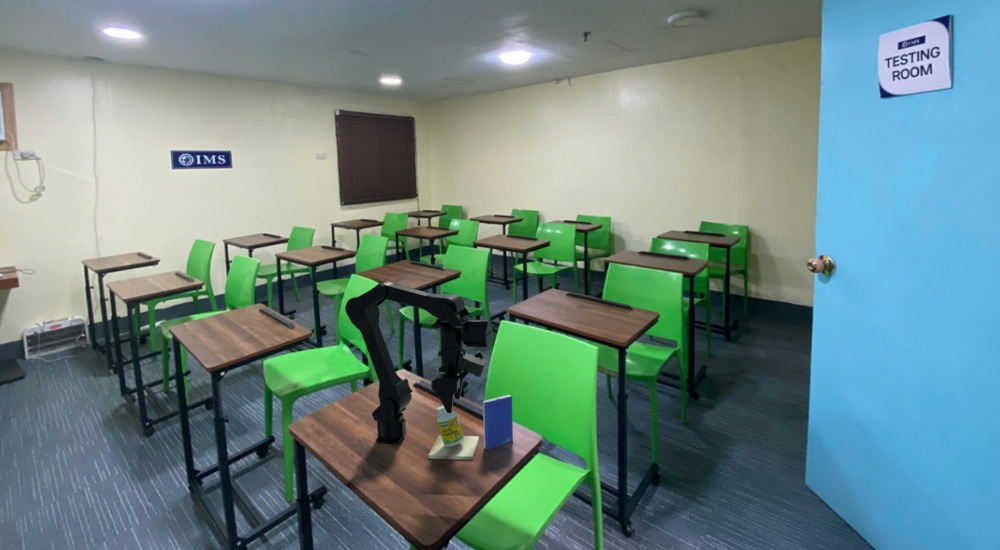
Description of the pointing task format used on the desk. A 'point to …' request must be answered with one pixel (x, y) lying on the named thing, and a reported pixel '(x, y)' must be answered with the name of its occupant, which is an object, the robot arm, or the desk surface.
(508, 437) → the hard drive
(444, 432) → the supplement bottle
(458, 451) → the birch board
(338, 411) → the desk surface
